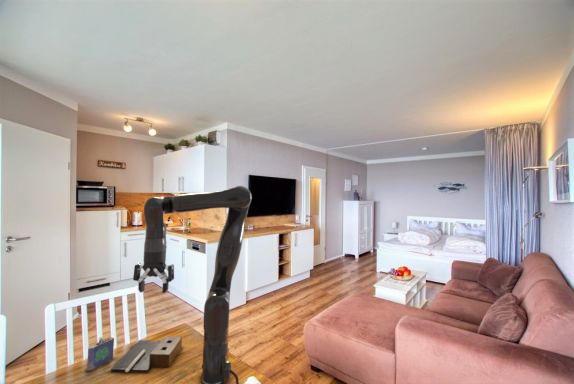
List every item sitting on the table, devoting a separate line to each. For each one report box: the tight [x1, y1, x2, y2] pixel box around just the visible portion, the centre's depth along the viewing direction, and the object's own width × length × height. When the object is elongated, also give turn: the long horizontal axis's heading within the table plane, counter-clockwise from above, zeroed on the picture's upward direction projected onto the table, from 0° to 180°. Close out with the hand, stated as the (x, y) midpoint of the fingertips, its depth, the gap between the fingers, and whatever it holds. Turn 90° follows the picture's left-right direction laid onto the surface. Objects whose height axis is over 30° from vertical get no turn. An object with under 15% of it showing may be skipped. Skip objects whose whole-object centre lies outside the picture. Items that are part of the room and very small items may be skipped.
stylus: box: [124, 349, 146, 373], centre depth 104 cm, size 1×1×13 cm
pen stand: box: [149, 336, 183, 368], centre depth 110 cm, size 8×13×5 cm, turn 1°
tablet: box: [110, 339, 161, 373], centre depth 110 cm, size 14×20×1 cm
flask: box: [86, 336, 115, 372], centre depth 103 cm, size 9×3×11 cm, turn 151°
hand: (153, 292), depth 96 cm, fingers open, 8 cm apart
